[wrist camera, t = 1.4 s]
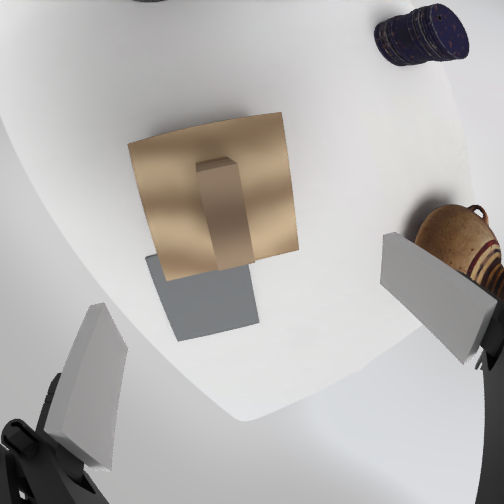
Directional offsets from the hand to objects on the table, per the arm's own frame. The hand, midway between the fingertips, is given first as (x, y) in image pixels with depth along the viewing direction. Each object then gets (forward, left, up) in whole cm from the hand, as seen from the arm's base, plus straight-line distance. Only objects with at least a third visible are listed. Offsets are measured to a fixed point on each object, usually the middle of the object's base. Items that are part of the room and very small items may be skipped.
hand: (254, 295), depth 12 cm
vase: (+19, +43, -32) cm, 57 cm away
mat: (+19, -5, -32) cm, 37 cm away
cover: (0, 0, -32) cm, 32 cm away
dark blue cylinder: (-22, +37, -32) cm, 53 cm away
